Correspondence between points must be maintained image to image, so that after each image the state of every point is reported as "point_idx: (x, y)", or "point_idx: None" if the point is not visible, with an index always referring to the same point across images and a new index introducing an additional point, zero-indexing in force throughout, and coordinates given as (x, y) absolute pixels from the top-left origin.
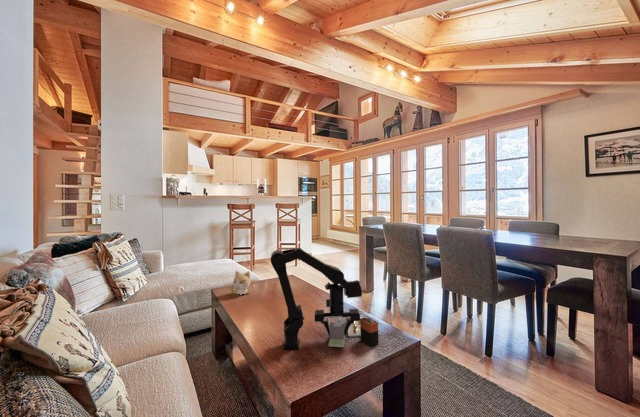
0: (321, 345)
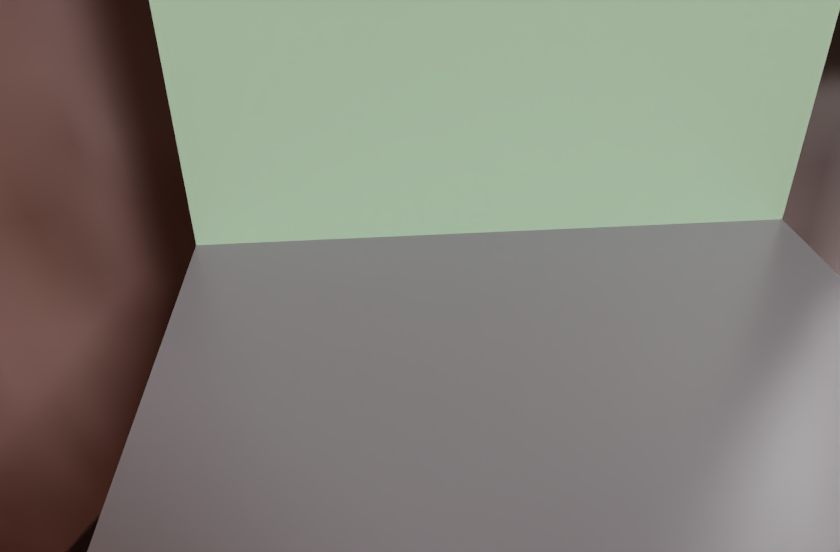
0: None
